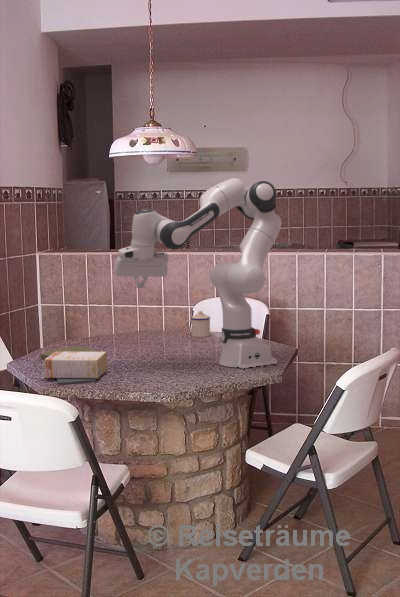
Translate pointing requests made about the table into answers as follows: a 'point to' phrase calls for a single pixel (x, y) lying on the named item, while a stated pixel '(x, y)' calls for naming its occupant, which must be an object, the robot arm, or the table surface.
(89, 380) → the mat
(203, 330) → the teacup with lid
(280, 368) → the table surface
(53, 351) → the decorative tile
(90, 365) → the coffeecake box
